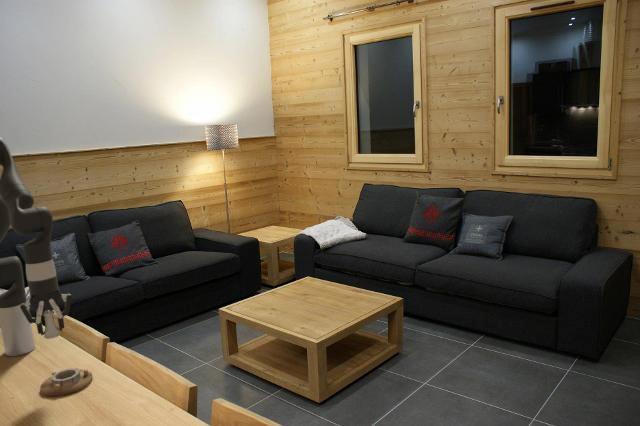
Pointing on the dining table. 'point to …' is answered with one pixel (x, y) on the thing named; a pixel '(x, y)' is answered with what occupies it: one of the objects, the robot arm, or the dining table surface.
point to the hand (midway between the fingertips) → (51, 331)
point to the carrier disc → (66, 382)
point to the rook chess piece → (50, 325)
